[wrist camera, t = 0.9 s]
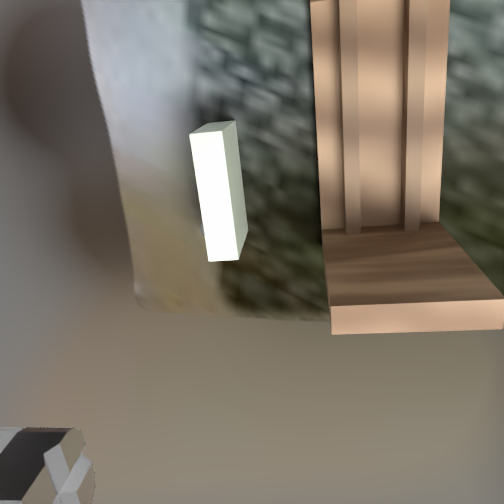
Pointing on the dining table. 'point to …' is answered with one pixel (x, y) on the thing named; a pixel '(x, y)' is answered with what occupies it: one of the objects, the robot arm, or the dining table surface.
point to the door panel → (220, 189)
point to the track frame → (389, 172)
